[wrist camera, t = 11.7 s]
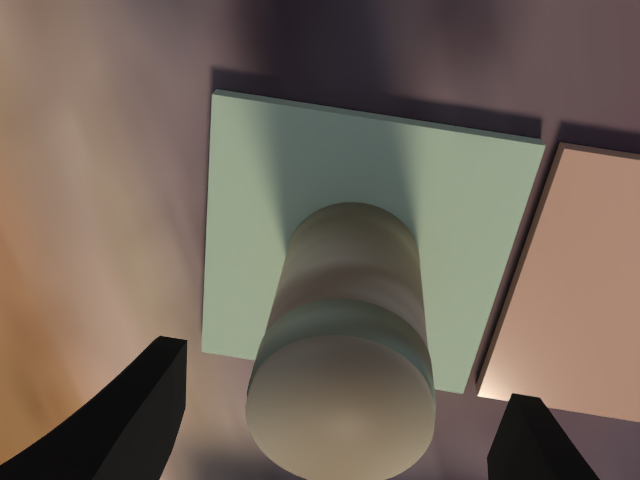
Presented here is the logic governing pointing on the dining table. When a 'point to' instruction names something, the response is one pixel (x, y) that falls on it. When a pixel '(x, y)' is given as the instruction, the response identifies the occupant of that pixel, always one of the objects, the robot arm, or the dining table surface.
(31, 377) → the dining table surface
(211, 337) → the sage pad
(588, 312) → the terracotta pad
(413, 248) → the fuse
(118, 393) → the robot arm
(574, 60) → the dining table surface
